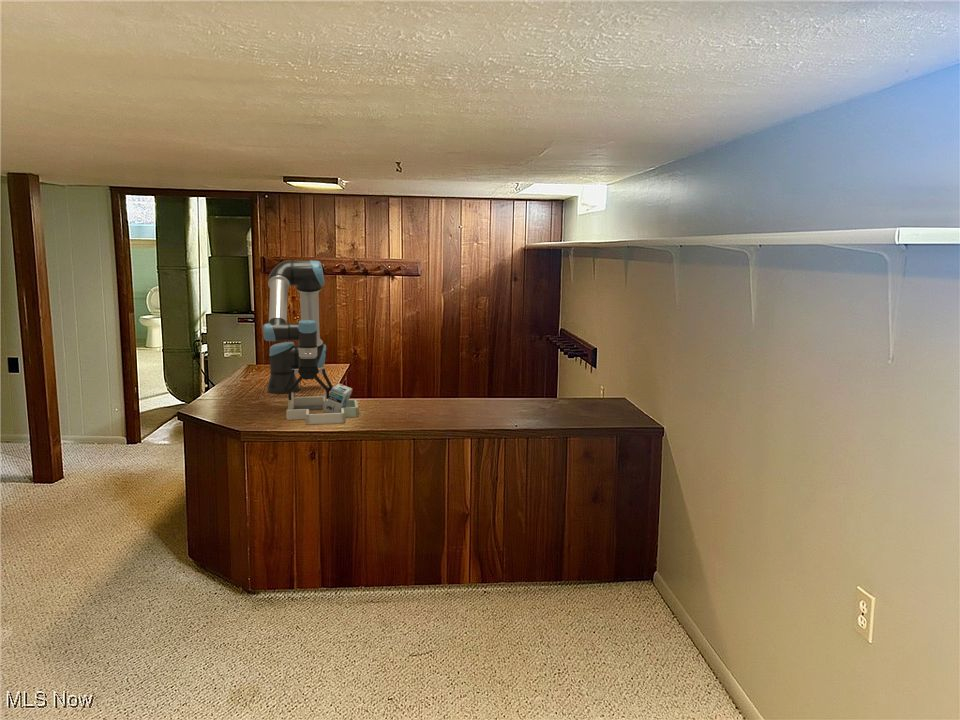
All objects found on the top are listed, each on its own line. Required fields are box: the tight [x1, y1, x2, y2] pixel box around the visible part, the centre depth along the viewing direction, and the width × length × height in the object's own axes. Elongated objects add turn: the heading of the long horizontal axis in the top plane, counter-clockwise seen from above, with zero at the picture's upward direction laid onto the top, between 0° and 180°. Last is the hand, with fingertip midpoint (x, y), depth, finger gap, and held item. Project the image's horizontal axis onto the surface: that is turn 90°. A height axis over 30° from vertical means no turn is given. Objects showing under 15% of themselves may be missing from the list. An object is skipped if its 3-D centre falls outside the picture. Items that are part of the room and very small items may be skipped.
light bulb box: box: [323, 383, 353, 413], centre depth 307 cm, size 11×7×11 cm, turn 175°
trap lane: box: [285, 395, 359, 425], centre depth 307 cm, size 34×29×4 cm
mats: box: [293, 405, 324, 411], centre depth 307 cm, size 32×19×1 cm, turn 13°
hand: (309, 407), depth 305 cm, fingers open, 13 cm apart
